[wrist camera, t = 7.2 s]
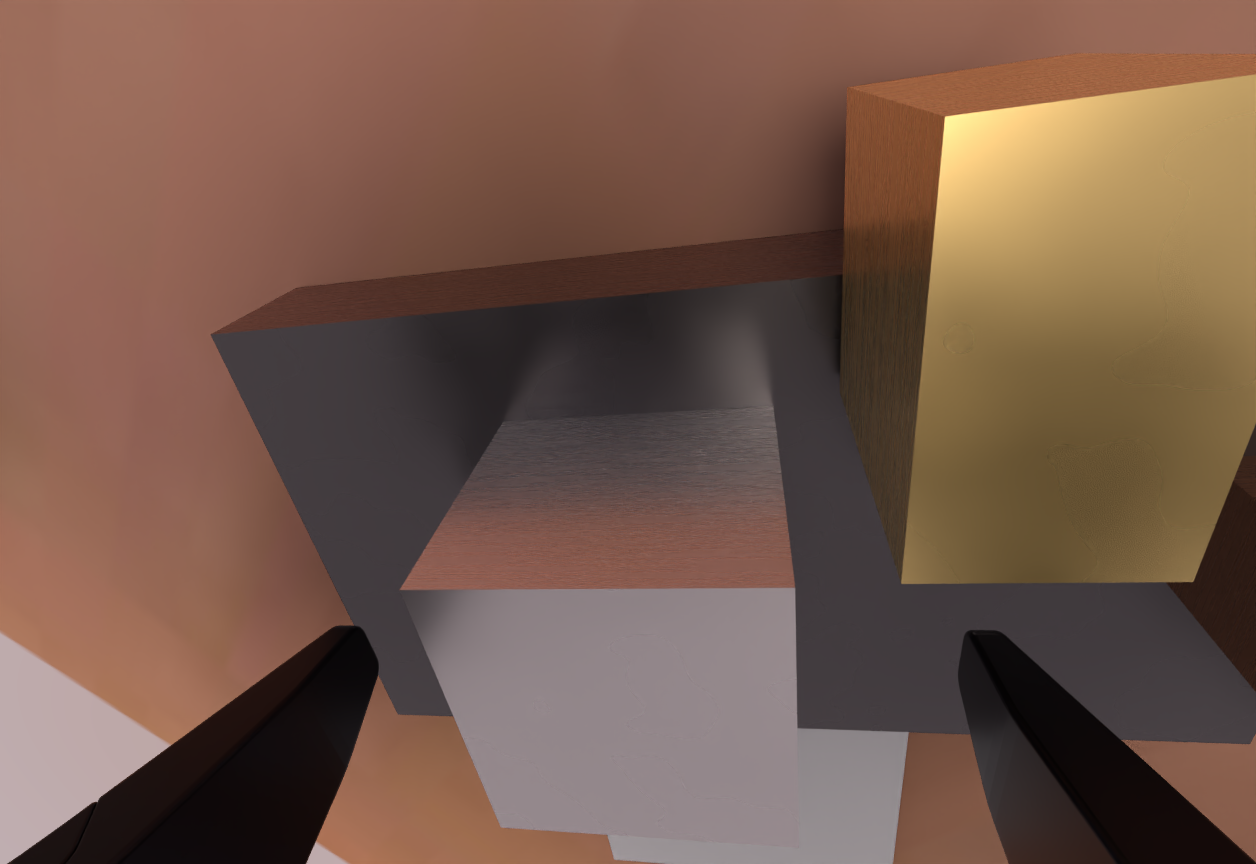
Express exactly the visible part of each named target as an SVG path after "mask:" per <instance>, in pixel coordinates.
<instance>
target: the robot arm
mask: <svg viewBox="0 0 1256 864" xmlns="http://www.w3.org/2000/svg"><path fill="white" fill-rule="evenodd" d="M378 671H379V662H378V658H377V656H376V654H375V652H374V650H373V648H372V646H371V644H370V642H369V640H368V638H367V636H366V633H365V632H364V630H363V629H362V628H361V627H359V626H335V627H333V628H331V629H330V630H328V631H327V632H325V633H324V634H323V635H321V636H320V637H319V638H317V639H316V640H315V641H313V642H312V643H310V644H309V645H308V646H306V647H305V648H304V649H302V650H301V651H300V652H298V653H297V654H295V655H294V656H293V657H291V658H290V659H289V660H287V661H286V662H285V663H283V664H282V665H280V666H279V667H278V668H276V669H275V670H274V671H272V672H271V673H269V674H268V675H267V676H265V677H264V678H263V679H261V680H260V681H259V682H257V683H256V684H254V685H253V686H252V687H250V688H249V689H248V690H246V691H245V692H244V693H242V694H241V695H239V696H238V697H237V698H235V699H234V700H233V701H231V702H230V703H228V704H227V705H226V706H224V707H223V708H222V709H220V710H219V711H218V712H216V713H215V714H213V715H212V716H211V717H209V718H208V719H207V720H205V721H204V722H202V723H201V724H200V725H198V726H197V727H196V728H194V729H193V730H192V731H190V732H189V733H187V734H186V735H185V736H183V737H182V738H181V739H179V740H178V741H177V742H175V743H174V744H172V745H171V746H170V747H168V748H167V749H166V750H164V751H163V752H161V753H160V754H159V755H157V756H156V757H155V758H153V759H152V760H151V761H149V762H148V763H146V764H145V765H144V766H142V767H141V768H140V769H138V770H137V771H135V772H134V773H133V774H131V775H130V776H129V777H127V778H126V779H125V780H123V781H122V782H120V783H119V784H118V785H116V786H115V787H114V788H112V789H111V790H109V791H108V792H107V793H105V794H104V795H103V796H101V797H100V798H99V800H98V802H94V803H91V804H90V805H89V806H87V807H86V808H85V809H83V810H82V811H81V812H79V813H78V814H77V815H75V816H74V817H72V818H71V819H70V820H68V821H67V822H66V823H64V824H63V825H62V826H60V827H59V828H57V829H56V830H54V831H53V832H52V833H50V834H49V835H48V836H46V837H45V838H43V839H42V840H41V841H39V842H38V843H36V844H35V845H33V846H32V847H31V848H29V849H28V850H26V851H25V852H24V853H22V854H21V855H19V856H18V857H16V858H15V859H14V860H12V861H11V862H9V863H8V864H306V863H307V860H308V858H309V856H310V853H311V851H312V849H313V846H314V844H315V842H316V840H317V837H318V835H319V833H320V830H321V828H322V826H323V823H324V821H325V819H326V817H327V814H328V812H329V810H330V807H331V805H332V803H333V800H334V798H335V796H336V794H337V791H338V789H339V787H340V784H341V782H342V779H343V777H344V774H345V772H346V770H347V767H348V764H349V761H350V759H351V756H352V753H353V750H354V747H355V744H356V741H357V738H358V735H359V732H360V729H361V726H362V722H363V719H364V716H365V713H366V710H367V707H368V704H369V701H370V698H371V695H372V692H373V689H374V686H375V683H376V680H377V676H378ZM958 683H959V689H960V693H961V697H962V701H963V705H964V710H965V714H966V718H967V722H968V726H969V730H970V734H971V738H972V742H973V747H974V751H975V755H976V759H977V763H978V767H979V771H980V775H981V779H982V784H983V787H984V791H985V795H986V799H987V803H988V806H989V809H990V812H991V815H992V818H993V821H994V824H995V827H996V830H997V832H998V835H999V838H1000V841H1001V843H1002V846H1003V849H1004V852H1005V854H1006V857H1007V860H1008V863H1009V864H1256V862H1255V861H1254V860H1253V859H1252V858H1251V857H1249V856H1248V855H1247V854H1246V853H1245V852H1244V851H1243V850H1242V849H1241V848H1239V847H1238V846H1237V845H1236V844H1235V843H1234V842H1233V841H1232V840H1231V839H1230V838H1228V837H1227V836H1226V835H1225V834H1224V833H1223V832H1222V831H1221V830H1220V829H1219V828H1217V827H1216V826H1215V825H1214V824H1213V823H1212V822H1211V821H1210V820H1209V819H1208V818H1206V817H1205V816H1204V815H1203V814H1202V813H1201V812H1200V811H1199V810H1198V809H1196V808H1195V807H1194V806H1193V805H1192V804H1191V803H1190V802H1189V801H1188V800H1187V799H1185V798H1184V797H1183V796H1182V795H1181V794H1180V793H1179V792H1178V791H1177V790H1176V789H1174V788H1173V787H1172V786H1171V785H1170V784H1169V783H1168V782H1167V781H1166V780H1165V779H1163V778H1162V777H1161V776H1160V775H1159V774H1158V773H1157V772H1156V771H1155V770H1153V769H1152V768H1151V767H1150V766H1149V765H1148V764H1147V763H1146V762H1145V761H1144V760H1142V759H1141V758H1140V757H1139V756H1138V755H1137V754H1136V753H1135V752H1134V751H1133V750H1131V749H1130V748H1129V747H1128V746H1127V745H1126V744H1125V743H1124V742H1123V741H1121V740H1120V739H1119V738H1118V737H1117V736H1116V735H1115V734H1114V733H1113V732H1112V731H1110V730H1109V729H1108V728H1107V727H1106V726H1105V725H1104V724H1103V723H1102V722H1101V721H1099V720H1098V719H1097V718H1096V717H1095V716H1094V715H1093V714H1092V713H1091V712H1090V711H1088V710H1087V709H1086V708H1085V707H1084V706H1083V705H1082V704H1081V703H1080V702H1078V701H1077V700H1076V699H1075V698H1074V697H1073V696H1072V695H1071V694H1070V693H1069V692H1067V691H1066V690H1065V689H1064V688H1063V687H1062V686H1061V685H1060V684H1059V683H1058V682H1056V681H1055V680H1054V679H1053V678H1052V677H1051V676H1050V675H1049V674H1048V673H1047V672H1045V671H1044V670H1043V669H1042V668H1041V667H1040V666H1039V665H1038V664H1037V663H1035V662H1034V661H1033V660H1032V659H1031V658H1030V657H1029V656H1028V655H1027V654H1026V653H1024V652H1023V651H1022V650H1021V649H1020V648H1019V647H1018V646H1017V645H1016V644H1015V643H1013V642H1012V641H1011V640H1010V639H1009V638H1008V637H1007V636H1006V635H1004V634H1003V633H1001V632H1000V631H997V630H969V631H967V632H966V633H965V635H964V638H963V643H962V649H961V655H960V661H959V667H958Z"/></svg>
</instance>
